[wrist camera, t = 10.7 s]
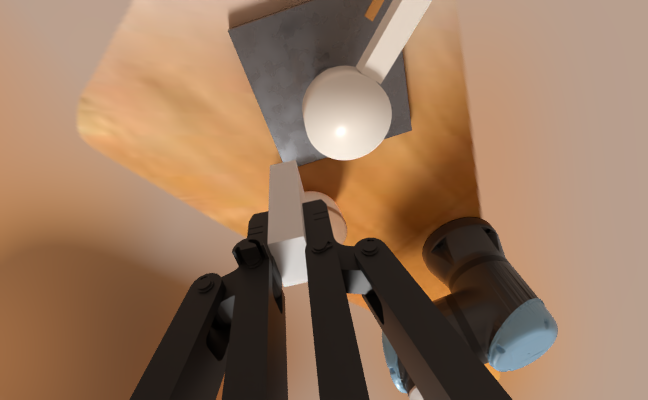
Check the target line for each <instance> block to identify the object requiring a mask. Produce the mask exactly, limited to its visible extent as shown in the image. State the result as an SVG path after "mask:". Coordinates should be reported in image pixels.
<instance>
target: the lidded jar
mask: <svg viewBox="0 0 648 400" xmlns="http://www.w3.org/2000/svg"><path fill="white" fill-rule="evenodd" d="M304 193H305V197H306V202H310V201H314V200H319V199H322V200H323V201H324V202H325V203H326V204H327V209H328V213H329V218H330V222H331V227H332V231H333V236H334V238H335V240H336V241H337V242H338V243H340V244H343V243H344V241H345V239H346V236H347V226H346V222H345V220H344V218H343V215H342V213H341V211H340V209H339V207H338V205H337V204H336V203H335V201H334V200H333V199H331V198H330V197H329V196H327V195H326V194H323V193H320V192H316V191H306V192H304Z"/></svg>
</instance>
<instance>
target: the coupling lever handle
mask: <svg viewBox="0 0 648 400" xmlns="http://www.w3.org/2000/svg"><path fill="white" fill-rule="evenodd" d="M431 1H432V0H393V1H392V3H391V4H390V6H389V8H388V10H387V12H386V13H385V15H384V17H383V19H382V20H381V22H380V24H379V26H378V28H377V29H376V31H375V33H374V35H373V37H372V38H371V40H370V42H369V44H368V46H367V47H366V49H365V51H364V53H363V55H362V56H361V58H360V60H359V62H358V64H357V65H356V67H353V66H336V67H333V68H330V69H327V70H325V71H324V72H322V73H321V74H319V75H318V76H317V77H316V78H315V79H314V80H313V81H312V82H311V83H310V85H309V86H308V88H307V90H306V92H305V95H304V98H303V104H302V112H303V118H304V123H305V128H306V132H307V136H308V138H309V140H310V142H311V143H312V145H313V146H314V147H315V148H316V149H317V150H318V151H319V152H320V153H322V154H323V155H325V156H327V157H329V158H332V159H336V160H352V159H357V158H360V157H362V156H365V155H366V154H368V153H370V152H371V151H373V150H374V149H375V148H376V147H377V146H378V145H379V144H380V143H381V142H382V141H383V139H384V138H385V136H386V135H387V132H388V130H389V127H390V124H391V119H392V110H391V104H390V101H389V98H388V96H387V94H386V93H385V91H384V90H383V89H382V87H381V86H380V85H379V84H381V83H382V81H383V80H384V78H385V77H386V75H387V73H388V72H389V70H390V68H391V67H392V65H393V64H394V62H395V60H396V59H397V57H398V55H399V54H400V52H401V50H402V49H403V47H404V46H405V44H406V42H407V41H408V39H409V37H410V36H411V34H412V32H413V31H414V29H415V28H416V26H417V24H418V23H419V21H420V19H421V18H422V16H423V15H424V13H425V11H426V10H427V8H428V6H429V5H430V3H431ZM377 82H378V83H379V84H378V83H377Z"/></svg>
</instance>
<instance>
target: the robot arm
mask: <svg viewBox="0 0 648 400" xmlns="http://www.w3.org/2000/svg"><path fill="white" fill-rule="evenodd" d="M232 253H233V255H234V257H235V259H236V261H237V263H238V265H239V267H238V268H237V269H236V270H235V271H233V272H231V273H229V274H227V275H225V276H223V277H220V276H219V275H218V274H215V273H209V274H205V275H203V276H201V277H199V278H198V279H197V280H196V281H194V283H193V284H192V285H191V287H190V289H189V290H188V292H187V294H186V296H185V298H184V300H183V302H182V303H181V305H180V307H179V309H178V311H177V313H176V315H175V316H174V318H173V320H172V322H171V324H170V326H169V328H168V329H167V331H166V333H165V335H164V337H163V339H162V341H161V343H160V344H159V346H158V348H157V350H156V352H155V353H154V355H153V357H152V359H151V361H150V363H149V365H148V366H147V368H146V370H145V372H144V374H143V376H142V377H141V379H140V381H139V383H138V385H137V387H136V389H135V390H134V393H133V394H132V396H131V398H130V400H216V396H217V394H218V391H219V388H220V385H221V382H222V379H223V376H224V374H225V379H224V385H223V394H222V400H288V389H287V388H288V386H287V355H286V354H287V353H286V321H285V296H284V293H283V290H282V282H283V285H284V287H287V286H292V285H296V284H300V283H305V282H308V287H309V297H310V306H311V317H312V326H313V336H314V346H315V356H316V366H317V376H318V386H319V396H320V400H369V395H368V391H367V386H366V381H365V377H364V372H363V368H362V363H361V359H360V354H359V349H358V345H357V340H356V336H355V331H354V327H353V322H352V317H351V313H350V308H349V304H348V299H347V295H346V293H354V294H362V297H363V298H364V300H365V302H366V303H367V305H368V307H369V309H370V310H371V312H372V313H373V315H374V317H375V319H376V320H377V322H378V324H379V325H380V327H381V329H382V343H383V350H384V355H385V358H386V363H387V365H388V367H389V369H390V375H391V378H392V380H393V382H394V384H395V386H396V388H397V389H398V390H399V391H400V392H402V393H408V396H409V399H410V400H512V398H511V397H510V396H509V395H508V394H507V392H506V391H505V390H504V389H503V388H502V386H501V385H500V384H499V383H498V381H497V380H496V379H495V378H494V376H493V375H492V374H491V373H490V372H489V370H488V369H487V368H486V367H485V365H484V364H486V363H489V364H490V365H491V366H492V367H493V368H494V369H496V370H498V371H501V372H506V371H508V370H510V371H513V370H516V369H519V368H522V367H524V366H526V365H528V364H530V363H532V362H533V361H535V360H536V359H538V358H539V357H541V356H542V355H543V354H544V353H545V352H546V351H547V350H548V349H549V348H550V347H551V346H552V344H553V343H554V341H555V339H556V337H557V332H558V328H557V324H556V321H555V320H554V318H553V317H552V316H551V314H550V313H549V311H548V310H547V309H546V307H545V305H544V303H543V301H541V299H539V298H538V297H537V296H536V295H535V293H534V292H533V291H532V290H531V289H530V288H529V286H528V285H527V284H526V282H525V281H524V280H523V279H522V278H521V276H520V275H519V274H518V273H517V271H516V270H515V269H514V268H513V267H512V266H511V264H510V263H509V262H508V261H507V259H506V258H505V255H504V252H503V249H502V246H501V243H500V240H499V237H498V234H497V233H496V231H495V230H494V229H493V228H492V226H491V225H490V224H489V223H488V222H487V221H485V220H483V219H480V218H474V217H467V218H461V219H457V220H454V221H451V222H449V223H447V224H445V225H443V226H442V227H440V228H439V229H437V230H436V231H435V232H434V233H433V234H432V235H431V236H430V237H429V238H428V240H427V241H426V243H425V245H424V247H423V252H422V256H423V260H424V262H425V264H426V266H427V267H428V269H429V270H430V272H431V273H433V274H434V275H435V276H436V277H437V278H438V279H439V280H440V281H442V282H443V283H444V284H445V285H446V286H447V287H448V288H449V289H450V291H451V294H449V295H447V296H444V297H442V298H439V299H437V300H434V301H431V299H430V298H429V297H428V296H427V294H426V293H425V292H424V291H423V290H422V288H421V287H420V286H419V285H418V283H417V282H416V281H415V280H414V279H413V277H412V276H411V275H410V274H409V272H408V271H407V270H406V269H405V268H404V266H403V265H402V264H401V263H400V261H399V260H398V259H397V258H396V257H395V255H394V254H393V253H392V252H391V250H390V249H389V248H388V247H387V246H386V244H385V243H384V242H382V241H381V240H379V239H376V238H366V239H362V240H361V241H359V242H357V244H356V245H355V246H345V245H342V244H340V243H338V242H337V241H336V240H335V238H334V236H333V231H332V227H331V222H330V218H329V213H328V209H327V204H326V203H325V202H324V201H323V200H322V199H319V200H314V201H310V202H306V197H305V193H304V190H303V186H302V182H301V178H300V174H299V171H298V167H297V163H296V160H293V161H288V162H283V163H279V164H274V165H270V182H269V211H267V212H263V213H258V214H254V215H253V216H252V218H251V219H250V221H249V226H248V236H247V238H246V239H243V240H242V241H240V242H239V243H237V244H236V245H235V247H234V248H233V251H232Z"/></svg>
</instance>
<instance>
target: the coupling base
mask: <svg viewBox="0 0 648 400" xmlns="http://www.w3.org/2000/svg"><path fill="white" fill-rule="evenodd" d="M392 1H393V0H310V1H308V2H305V3H302V4H299V5H296V6H293V7H290V8H287V9H285V10H282V11H279V12H276V13H273V14H270V15H267V16H265V17H262V18H259V19H256V20H253V21H250V22H247V23H244V24H242V25H239V26H236V27H233V28H230V29H229V30H228V32H229V35H230V37H231V40H232V42H233V44H234V47H235V49H236V51H237V54H238V56H239V59H240V61H241V63H242V66H243V68H244V71H245V73H246V75H247V78H248V80H249V83H250V85H251V87H252V90H253V92H254V94H255V97H256V99H257V102H258V104H259V106H260V109H261V111H262V114H263V116H264V118H265V121H266V123H267V126H268V128H269V130H270V133H271V135H272V137H273V140H274V142H275V145H276V147H277V149H278V152H279V154H280V157H281V159H282V161H283V162H288V161H293V160H296V163H297V167H298V166H301V165H304V164H307V163H310V162H313V161H317V160H320V159H323V158H326V157H327V156H325V155H323V154H322V153H320V152H319V151H318V150H317V149H316V148H315V147H314V146H313V145H312V143H311V142H310V140H309V138H308V136H307V132H306V128H305V123H304V118H303V112H302V104H303V98H304V95H305V92H306V90H307V88H308V86H309V85H310V83H311V82H312V81H313V80H314V79H315V78H316V77H317V76H318V75H319V74H321V73H322V72H324V71H325V70H327V69H330V68H333V67H336V66H353V67H356V65H357V64H358V62H359V60H360V58H361V56H362V55H363V53H364V51H365V49H366V47H367V46H368V44H369V42H370V40H371V38H372V37H373V35H374V33H375V31H376V29H377V28H378V26H379V24H380V22H381V20H382V19H383V17H384V15H385V13H386V12H387V10H388V8H389V6H390V4H391V3H392ZM377 83H378V82H377ZM378 84H379V83H378ZM379 85H380V86H381V87H382V89H383V90H384V91H385V93H386V94H387V96H388V98H389V101H390V104H391V110H392V119H391V124H390V127H389V130H388V132H387V135H386V136H385V138H384V139H386V138H389V137H392V136H396V135H399V134H402V133H405V132H408V131H411V130H412V127H411V119H410V111H409V103H408V94H407V86H406V78H405V70H404V61H403V53H402V50H401V52H400V54H399V55H398V57H397V59H396V60H395V62H394V64H393V65H392V67H391V68H390V70H389V72H388V73H387V75H386V77H385V78H384V80H383V81H382V83H381V84H379Z"/></svg>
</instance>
